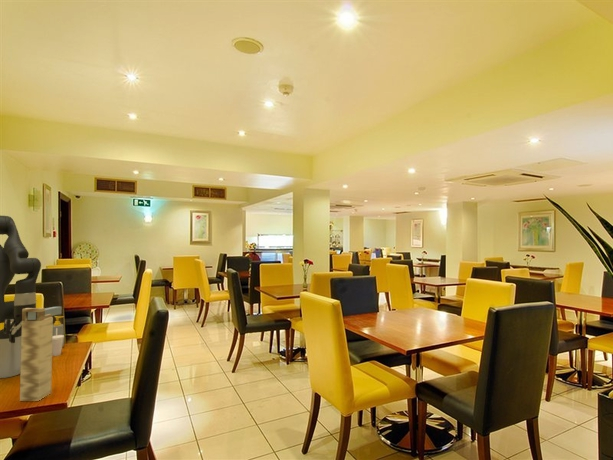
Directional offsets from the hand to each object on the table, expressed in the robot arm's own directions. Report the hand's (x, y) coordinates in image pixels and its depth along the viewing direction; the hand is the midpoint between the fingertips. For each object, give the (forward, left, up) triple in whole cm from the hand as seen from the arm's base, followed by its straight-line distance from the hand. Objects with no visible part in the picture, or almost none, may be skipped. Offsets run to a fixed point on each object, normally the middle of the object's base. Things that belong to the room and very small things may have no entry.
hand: (24, 340), depth 148 cm
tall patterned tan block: (+24, -6, -17) cm, 30 cm away
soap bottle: (-35, +30, -17) cm, 49 cm away
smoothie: (-23, +24, -17) cm, 38 cm away
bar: (+22, -2, +13) cm, 26 cm away
